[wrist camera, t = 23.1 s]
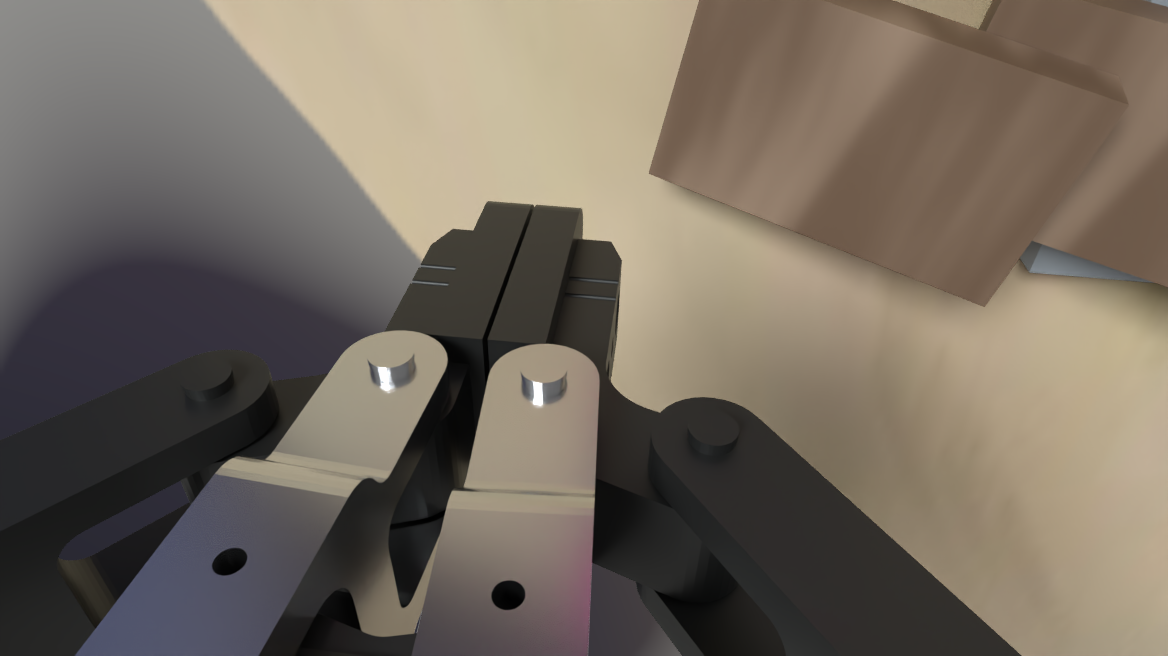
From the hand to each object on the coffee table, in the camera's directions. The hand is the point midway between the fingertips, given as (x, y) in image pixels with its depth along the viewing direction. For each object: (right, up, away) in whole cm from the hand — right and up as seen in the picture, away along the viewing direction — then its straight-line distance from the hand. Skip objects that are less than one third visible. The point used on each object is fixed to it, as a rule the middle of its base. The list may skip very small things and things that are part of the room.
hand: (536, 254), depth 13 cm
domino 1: (+4, +6, +9) cm, 11 cm away
